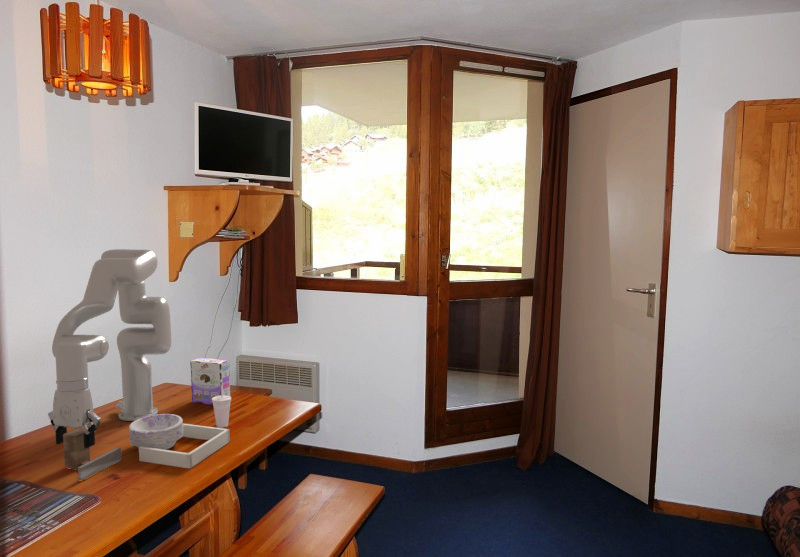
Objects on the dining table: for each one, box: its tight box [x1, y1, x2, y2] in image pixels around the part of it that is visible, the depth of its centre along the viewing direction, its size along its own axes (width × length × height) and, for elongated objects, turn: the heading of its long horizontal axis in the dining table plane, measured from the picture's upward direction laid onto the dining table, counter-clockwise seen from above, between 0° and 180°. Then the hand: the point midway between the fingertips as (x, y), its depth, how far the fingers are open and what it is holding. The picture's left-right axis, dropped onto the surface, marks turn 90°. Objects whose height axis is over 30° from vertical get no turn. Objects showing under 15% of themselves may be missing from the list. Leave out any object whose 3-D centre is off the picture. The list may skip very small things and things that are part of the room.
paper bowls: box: [128, 413, 184, 450], centre depth 173 cm, size 15×15×8 cm
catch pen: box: [138, 423, 231, 470], centre depth 170 cm, size 17×20×4 cm
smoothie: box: [212, 385, 232, 429], centre depth 190 cm, size 6×6×14 cm
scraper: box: [62, 428, 122, 481], centre depth 158 cm, size 11×14×10 cm
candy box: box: [189, 357, 231, 406], centre depth 214 cm, size 14×6×16 cm, turn 71°
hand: (75, 444), depth 158 cm, fingers open, 9 cm apart
